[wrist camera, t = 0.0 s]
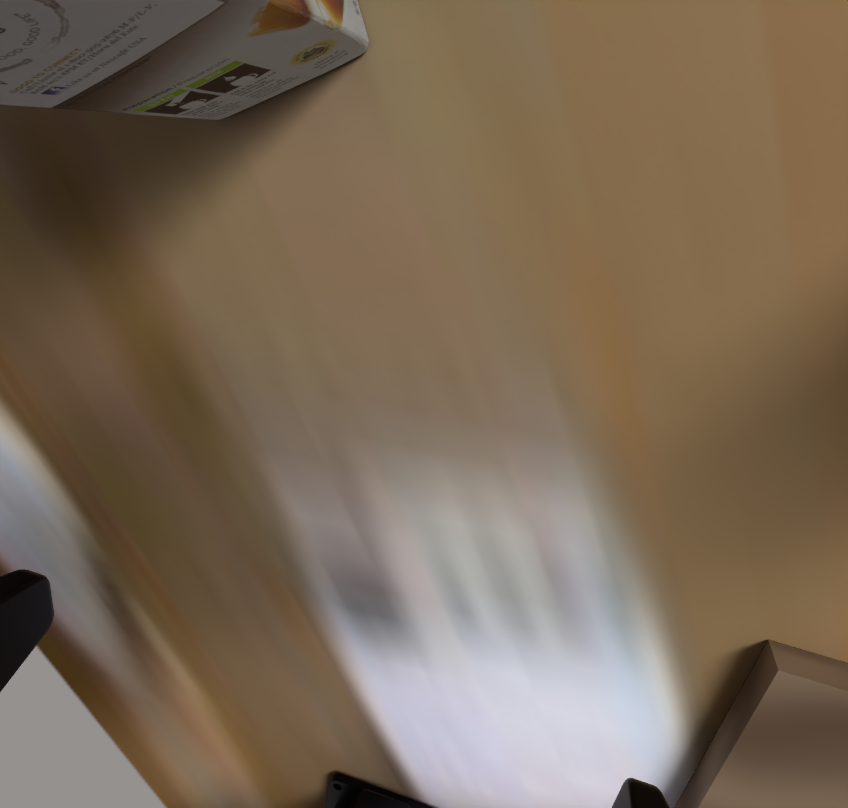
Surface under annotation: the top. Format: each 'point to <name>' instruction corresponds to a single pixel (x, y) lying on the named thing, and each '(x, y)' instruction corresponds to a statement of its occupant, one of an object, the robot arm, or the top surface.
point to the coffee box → (170, 52)
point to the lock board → (780, 738)
